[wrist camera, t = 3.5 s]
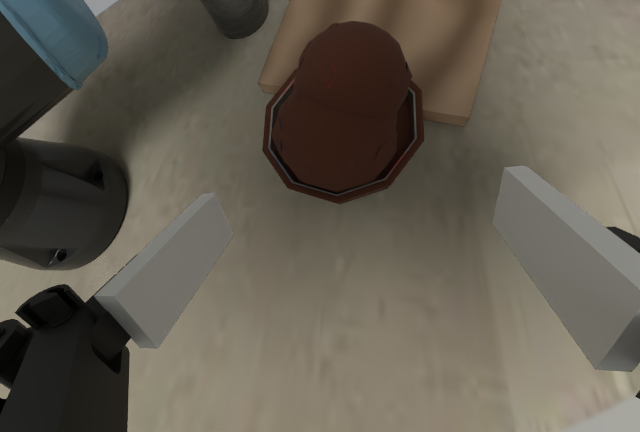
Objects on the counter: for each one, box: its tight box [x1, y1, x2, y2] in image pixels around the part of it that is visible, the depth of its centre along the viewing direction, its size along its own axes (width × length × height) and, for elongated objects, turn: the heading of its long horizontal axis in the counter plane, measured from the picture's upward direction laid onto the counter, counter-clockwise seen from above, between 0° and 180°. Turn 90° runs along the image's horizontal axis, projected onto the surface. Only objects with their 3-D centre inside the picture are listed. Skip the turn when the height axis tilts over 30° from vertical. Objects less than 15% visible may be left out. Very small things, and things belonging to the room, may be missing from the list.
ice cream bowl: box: [263, 21, 424, 204], centre depth 19 cm, size 11×11×15 cm
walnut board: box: [258, 0, 501, 126], centre depth 28 cm, size 22×14×2 cm, turn 71°
